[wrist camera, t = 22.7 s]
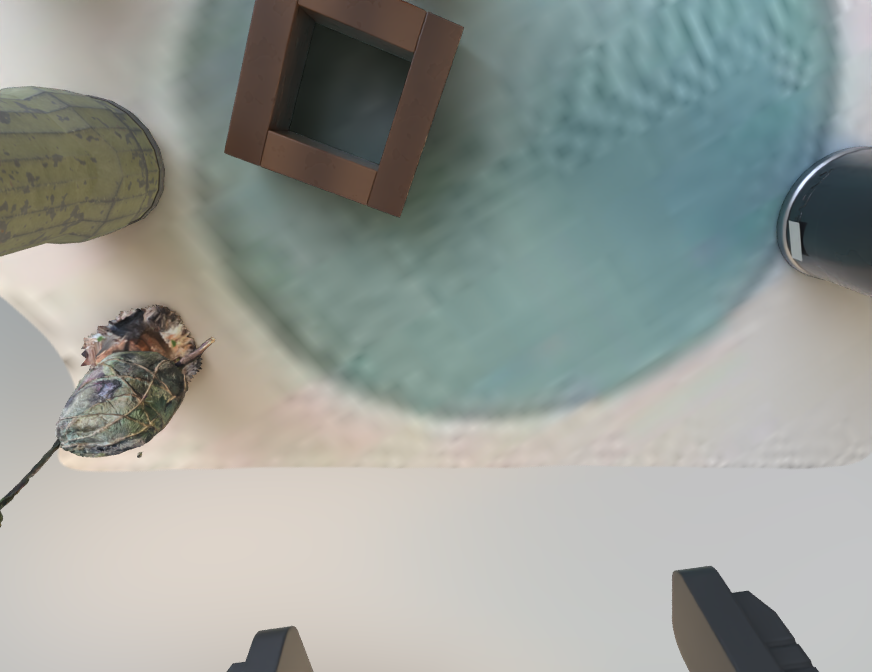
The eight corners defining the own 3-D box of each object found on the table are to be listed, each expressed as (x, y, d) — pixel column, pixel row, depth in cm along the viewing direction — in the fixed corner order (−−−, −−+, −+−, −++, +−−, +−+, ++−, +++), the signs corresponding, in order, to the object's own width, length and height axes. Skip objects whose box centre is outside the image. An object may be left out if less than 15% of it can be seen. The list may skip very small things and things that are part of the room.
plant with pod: (240, 391, 42) (95, 593, 24) (105, 402, 42) (-145, 611, 24) (217, 297, 39) (30, 445, 21) (72, 309, 39) (-243, 467, 21)
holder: (459, 41, 33) (464, 27, 29) (403, 207, 37) (399, 217, 32) (290, -31, 32) (267, -59, 27) (250, 150, 35) (223, 153, 31)
